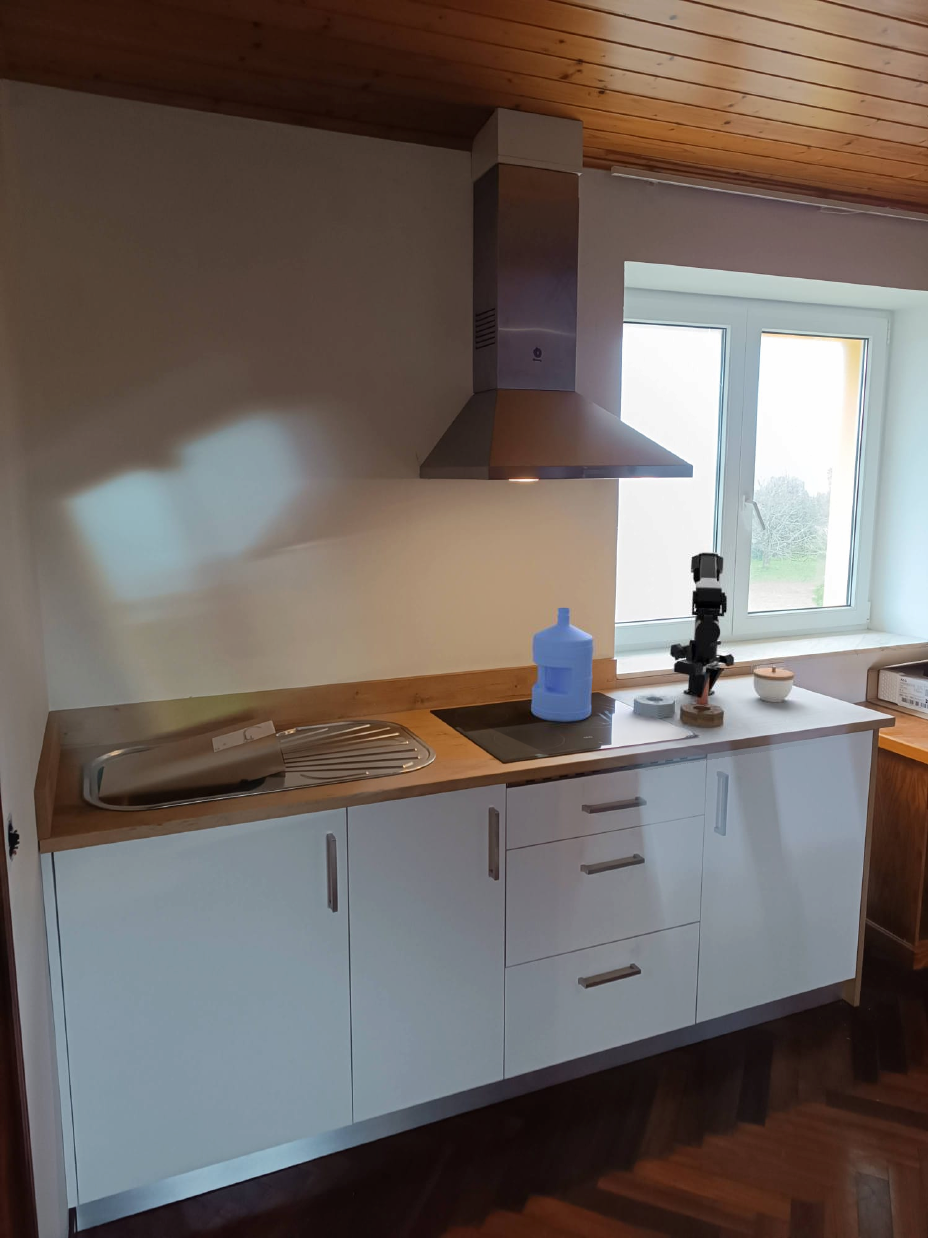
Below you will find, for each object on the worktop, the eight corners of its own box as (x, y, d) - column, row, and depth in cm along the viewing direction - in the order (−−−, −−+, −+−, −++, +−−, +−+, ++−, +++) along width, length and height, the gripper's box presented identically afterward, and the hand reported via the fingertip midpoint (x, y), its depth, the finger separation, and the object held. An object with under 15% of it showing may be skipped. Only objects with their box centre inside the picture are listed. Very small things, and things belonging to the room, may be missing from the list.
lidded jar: (752, 702, 236) (754, 669, 235) (751, 692, 246) (753, 661, 245) (793, 705, 233) (796, 672, 232) (790, 695, 243) (793, 663, 242)
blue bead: (640, 705, 233) (640, 692, 232) (677, 709, 228) (677, 697, 228) (630, 714, 224) (631, 701, 223) (668, 719, 220) (669, 706, 219)
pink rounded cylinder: (700, 701, 219) (701, 675, 218) (710, 704, 217) (711, 677, 216) (693, 703, 217) (695, 676, 216) (703, 706, 215) (705, 679, 214)
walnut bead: (695, 713, 225) (695, 700, 224) (729, 722, 218) (730, 708, 217) (673, 721, 218) (673, 707, 218) (707, 729, 211) (708, 716, 210)
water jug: (564, 702, 235) (567, 602, 230) (603, 716, 222) (607, 610, 217) (519, 711, 226) (521, 606, 221) (556, 726, 213) (559, 615, 208)
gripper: (698, 626, 226) (695, 684, 229) (657, 635, 214) (654, 696, 217) (736, 633, 218) (733, 692, 221) (695, 642, 206) (692, 705, 208)
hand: (702, 696), depth 217 cm, fingers closed on pink rounded cylinder, 3 cm apart
